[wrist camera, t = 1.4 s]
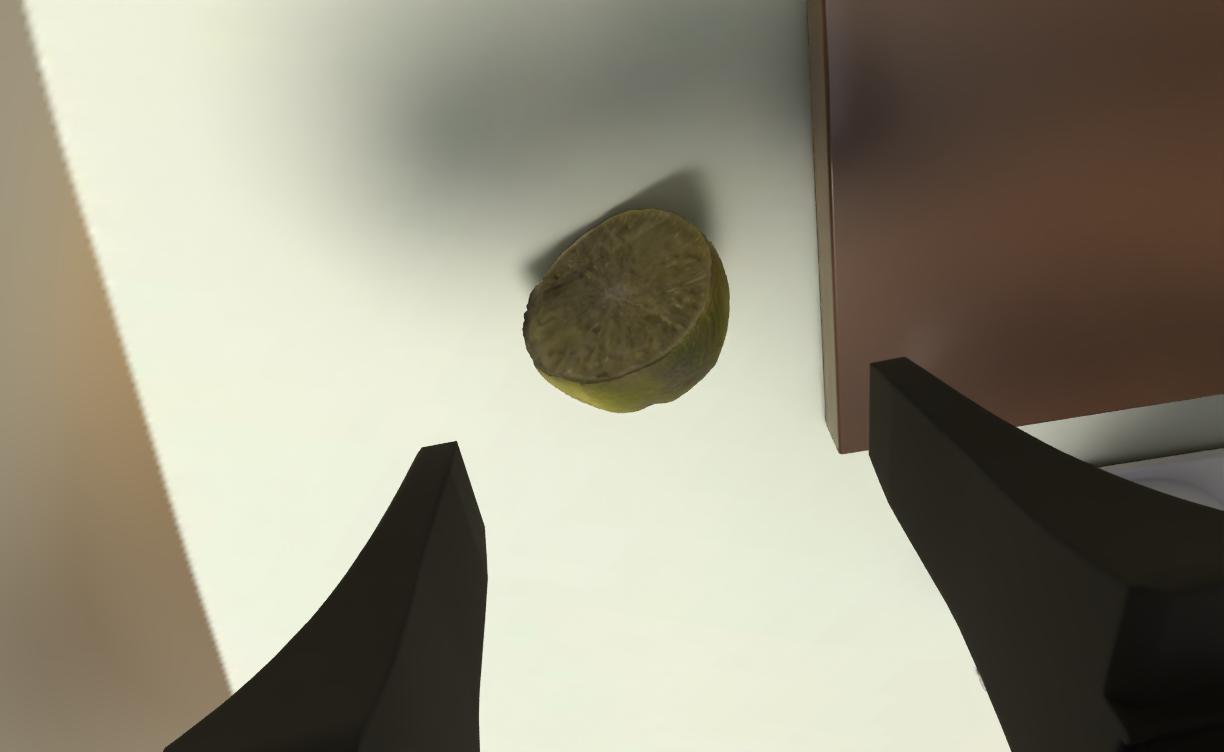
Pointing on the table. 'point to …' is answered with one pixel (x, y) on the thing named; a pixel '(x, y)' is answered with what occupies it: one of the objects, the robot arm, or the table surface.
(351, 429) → the table surface
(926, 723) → the table surface
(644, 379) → the lime
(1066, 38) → the cutting board
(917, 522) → the robot arm
